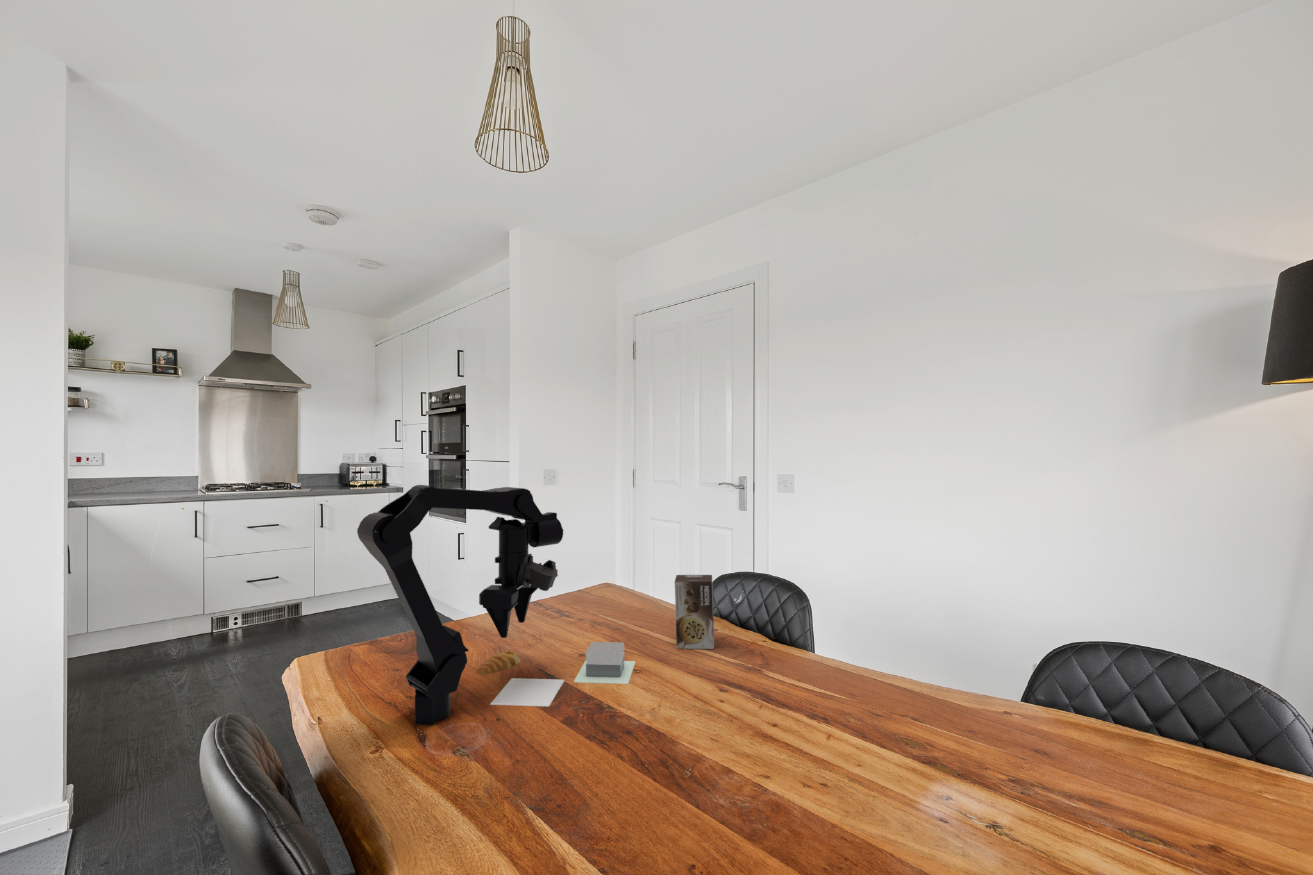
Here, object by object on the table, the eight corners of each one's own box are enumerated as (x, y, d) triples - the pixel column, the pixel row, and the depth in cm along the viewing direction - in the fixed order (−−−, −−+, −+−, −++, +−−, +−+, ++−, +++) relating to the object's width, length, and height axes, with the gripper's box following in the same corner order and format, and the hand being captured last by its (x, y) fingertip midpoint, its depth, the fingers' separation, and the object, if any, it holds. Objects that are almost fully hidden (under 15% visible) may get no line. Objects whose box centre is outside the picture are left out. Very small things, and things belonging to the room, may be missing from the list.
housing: (620, 677, 110) (619, 652, 110) (586, 676, 111) (585, 651, 111) (624, 666, 116) (624, 642, 116) (591, 665, 116) (591, 641, 116)
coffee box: (714, 639, 134) (713, 574, 134) (714, 649, 128) (713, 580, 128) (677, 639, 135) (676, 573, 135) (675, 649, 129) (674, 580, 129)
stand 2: (628, 691, 107) (628, 683, 107) (573, 689, 108) (573, 682, 108) (635, 667, 118) (635, 661, 118) (585, 666, 119) (585, 659, 119)
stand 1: (548, 714, 98) (548, 706, 98) (490, 712, 100) (489, 704, 100) (564, 687, 109) (564, 679, 109) (511, 685, 110) (511, 678, 110)
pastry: (489, 685, 111) (489, 667, 111) (467, 678, 115) (467, 660, 115) (523, 669, 119) (523, 651, 119) (502, 663, 123) (501, 646, 123)
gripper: (537, 561, 98) (536, 648, 98) (566, 543, 117) (565, 616, 116) (478, 559, 100) (477, 645, 99) (516, 542, 118) (515, 615, 118)
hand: (513, 629), depth 108 cm, fingers open, 9 cm apart
